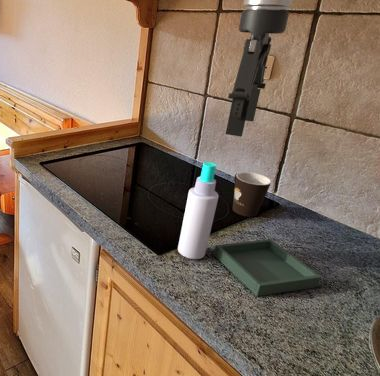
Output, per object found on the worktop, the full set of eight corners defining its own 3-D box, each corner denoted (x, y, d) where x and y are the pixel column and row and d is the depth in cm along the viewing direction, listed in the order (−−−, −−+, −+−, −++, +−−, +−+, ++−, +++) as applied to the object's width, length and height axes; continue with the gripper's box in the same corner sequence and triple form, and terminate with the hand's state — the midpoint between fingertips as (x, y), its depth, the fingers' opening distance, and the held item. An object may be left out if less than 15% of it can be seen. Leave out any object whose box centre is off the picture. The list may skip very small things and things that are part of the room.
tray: (317, 287, 83) (321, 276, 82) (256, 296, 80) (260, 285, 79) (267, 248, 96) (270, 238, 95) (213, 254, 93) (215, 245, 92)
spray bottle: (175, 255, 92) (192, 166, 83) (180, 242, 97) (196, 157, 88) (202, 263, 90) (223, 172, 80) (206, 249, 95) (226, 162, 85)
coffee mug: (264, 221, 108) (273, 187, 104) (229, 215, 110) (237, 181, 106) (258, 202, 118) (267, 170, 114) (226, 197, 120) (234, 166, 116)
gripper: (253, 9, 82) (232, 112, 91) (228, 7, 63) (204, 138, 71) (295, 10, 78) (269, 117, 87) (283, 7, 59) (251, 146, 68)
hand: (240, 127), depth 79 cm, fingers open, 13 cm apart
